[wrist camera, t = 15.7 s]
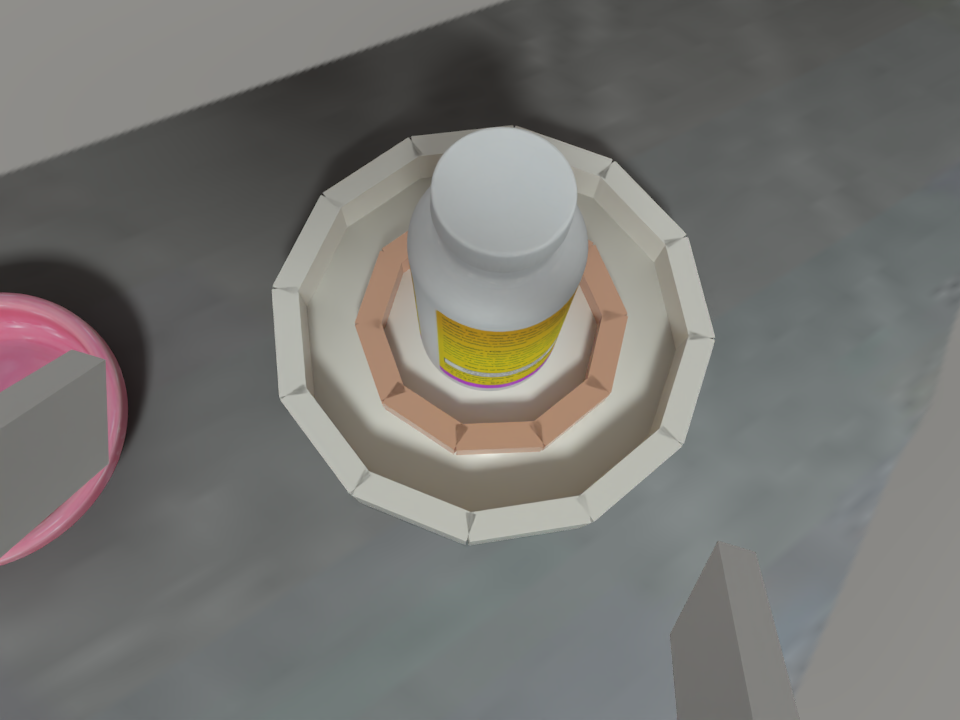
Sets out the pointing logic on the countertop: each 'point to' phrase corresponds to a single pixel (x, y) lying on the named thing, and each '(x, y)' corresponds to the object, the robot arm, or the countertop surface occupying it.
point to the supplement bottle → (496, 257)
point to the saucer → (28, 347)
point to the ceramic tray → (489, 414)
